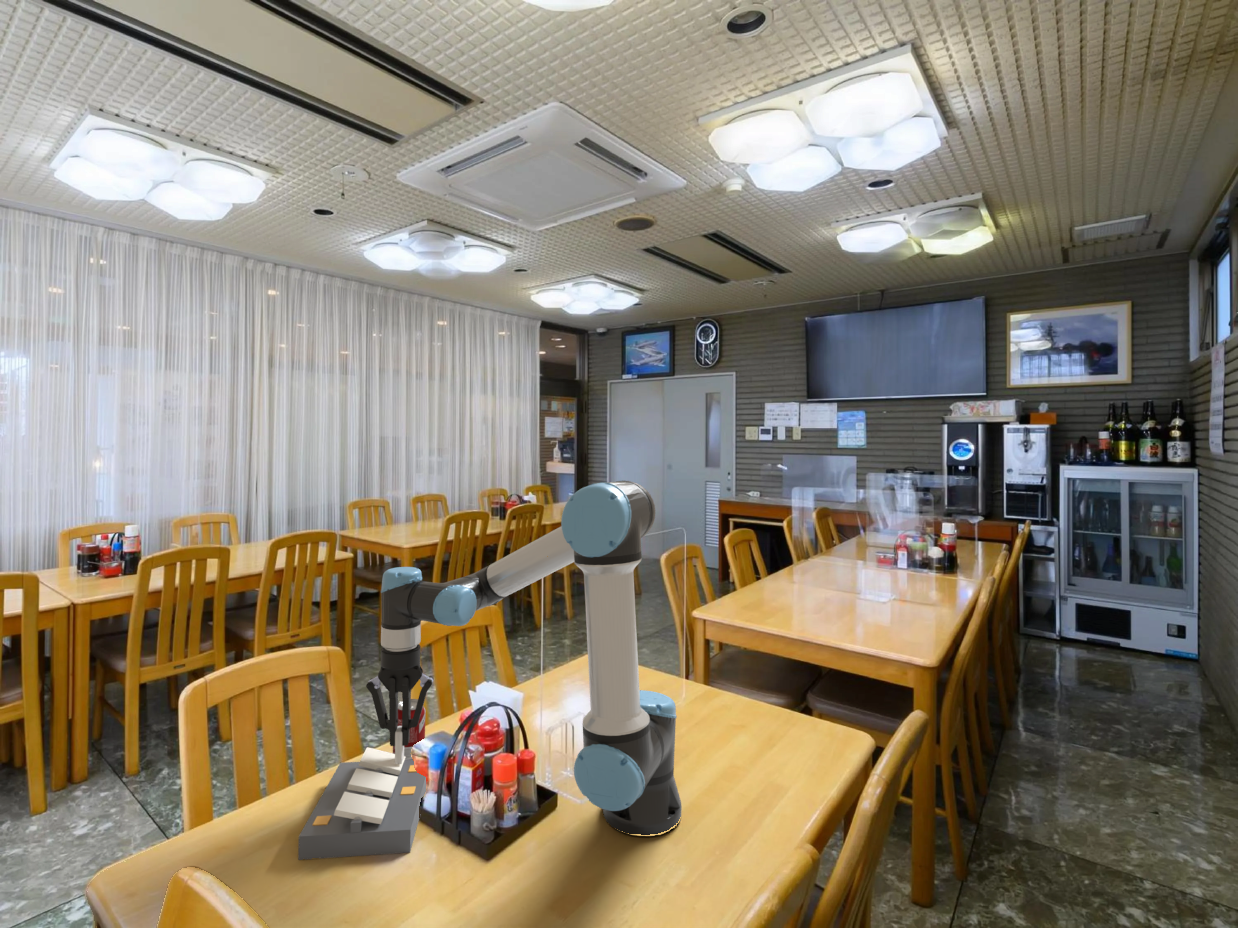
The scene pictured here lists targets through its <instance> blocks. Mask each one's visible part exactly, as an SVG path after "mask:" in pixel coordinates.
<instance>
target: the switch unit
mask: <svg viewBox="0 0 1238 928" xmlns="http://www.w3.org/2000/svg"><path fill="white" fill-rule="evenodd" d="M359 763H360V761H350V762H349V761H348V762H347V761H346V762H345V761H344V762H340V763H339V765H338V766H337V768H336V770H335V771H334V773H333V775H332V776H331V778H330V780H329V782H328V783H327V786H326V787H325V789H324V791H323V793H322V794H321V796H320V798H319V800H318V802H317V804H316V805H315V807H314V809H313V810H312V812H311V814H310V816H309V817H308V819H307V821H306V823H305V825H304V826H303V829H302V830H301V831H300V833H299V835H298V855H297V858H298V861H301V860H303V859H305V860H313V859H312V858H319V859H330V858H332V859H333V858H344V857H345V858H347V857H361V856H376V855H391V854H404V853H411V850H412V846H413V843H414V839H415V837H416V836H415V835H416V831H417V828H418V824H419V821H420V818H419V806H420V802H421V798H422V797H423V796H424V794H425V792H426V777H425V776H423V775H421V774H419V773H417V771H416V770H415V768H414V761H413V759H409V760H404V763H403V766H402V769H401V771H400V774H399V775H395V774H391V773H387V772H383V770H379V771H376V770H374V769H370V768H366V767H362V766H359ZM356 768H358V769H363V770H368V771H373V772H378V773H383V774H387V775H392V776H397V777H398V779H397V782H396V785H395V788H394V790H393V793H392V796H391V798H389V797H384V796H379V795H374V794H373V793H369V794H365V793H364V792H359V791H354V790H349V789H347V787H348V784H349V782H350V780H351V778H352V776H353V774H354V772H355V770H356ZM344 792H349V793H354V794H359V795H365V796H370V797H375V798H380V799H385V800H389V803H388V807H387V809H386V812H385V815H384V817H383V820H382V823H381V824H376V823H371V822H366V821H362V820H354V819H350V818H345V817H340V816H335V815H334V813H335V810H336V808H337V806H338V804H339V802H340V800H341V798H342V796H343V794H344ZM426 793H427V792H426ZM303 861H304V860H303Z"/></svg>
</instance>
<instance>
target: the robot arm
mask: <svg viewBox="0 0 1238 928" xmlns="http://www.w3.org/2000/svg"><path fill="white" fill-rule="evenodd" d="M655 518H656V505H655V502H654V499H653V497H652V495H651V494H650V491H648V490H647V489H646V488H645V487H644V486H642V485H641V484H640V483H637V482H634V481H631V480H617V481H610V482H602V481H601V482H597V483H591V484H588V485H587V486H583V487H582V488H579V490H577V491H576V492H574V493H573V494H572V495H571V496H570V498H568V500H567V502H566V503H565V505H564V508H563V510H562V514H561V518H560V519H561V521H560V524H561V525H560V526H559V527H557V528H556V529H553V530H552V531H550V532H548V533H546V534H544V535H542V536H540V537H538V538H537V539H535V540H533V541H532V542H530V543H528V544H526V545H524V546H522V547H520V548H519V549H517V550H515V551H513V552H511V553H510V554H507V555H506V556H504V557H502V558H500V559H498V560H496V561H494V562H493V563H490V565H488V566H485V567H483V568H481V569H480V570H478V571H476V572H473V573H471V574H469V575H466V576H463V577H459V578H456V579H452V580H449V581H446V582H433V581H432V582H431V581H426V580H423V575H422V574H423V573H422V571H421V569H419V568H418V567H413V566H401V567H400V566H399V567H392V568H389V569H387V570H385V571H384V572H383V574H382V579H381V580H382V581H381V589H380V594H381V596H380V597H381V599H380V600H381V624H380V628H381V629H380V645H381V649H380V670H379V671H378V674H377V675H376V676H375V677H372V678H370V679H369V680H368V681H367V683H366V685H365V687H366V688H367V690H368V692H369V693H370V694H371V697H372V698H371V699H372V701H373V705H374V709H375V711H376V712H375V713H376V716H377V720H378V724H379V728H380V729H382V730H384V729H387V730H388V731H389V746H390V747H393V746H395V764H402V761H403V759H404V746H405V745H408V743H409V740H410V728H412V727H416V726H417V725H418V722H419V719H420V716H421V712H422V708H423V707H424V706H425V705H424V704H425V701H426V697H427V694H428V691H429V690H430V688H431V687H432V685H433V683H434V679H435V678H434V676H431V675H430V676H428V675H426V674H425V673H424V671H423V668H422V665H421V651H422V650H421V649H422V648H421V645H420V643H421V640H422V639H421V638H422V636H421V633H422V624H421V623H422V621H423V622H428V623H434V624H440V625H443V626H447V627H450V626H451V627H453V626H454V627H455V626H456V627H463V626H466V625H467V624H468V623H470V620H472V618H473V617H474V616H475V613H476V611H479V610H482V609H484V608H486V607H490V606H493V605H495V604H497V603H499V602H500V601H502V600H503V599H505V598H506V597H508V596H509V595H512V594H514V593H516V592H517V591H520V590H522V589H524V588H525V587H527V586H530V585H531V584H533V583H536V582H537V581H539V580H541V579H543V578H545V577H548V576H549V575H551V574H553V573H554V572H557V571H559V570H561V569H563V568H565V567H567V566H569V565H571V564H573V563H574V565H575V566H576V567H577V568H579V569H580V570H581V571H582V573H583V582H584V601H585V620H586V621H585V622H586V624H585V625H586V640H587V641H586V642H587V643H586V645H587V663H588V682H589V701H590V703H589V705H590V710H589V711H588V712H587V713H586V715H584V717H583V719H582V741H583V748H582V749H581V750H580V751H579V752H578V754H577V756H576V759H575V761H574V765H573V776H574V779H575V783H576V786H577V787H578V790H579V792H580V793H581V794H582V795H583V796H584V797H586V798H587V799H588V801H589V802H590V803H591V804H592V805H594V806H595V807H597V808H599V809H602V813H603V814H604V815H603V814H602V815H603V818H604V817H605V818H604V820H605V819H606V820H605V821H606V823H607V822H608V823H609V824H610V825H611V826H610V825H609V824H608V823H607V824H608V825H609V826H610V827H611V828H613V827H614V828H616V829H618V830H620V831H623V832H625V833H629V834H641V835H650V834H658V833H661V832H664V831H667V830H669V829H670V828H671V827H673V826H674V825H676V823H678V821H679V819H680V817H681V818H682V801H681V797H680V793H679V790H678V786H677V782H676V778H675V777H674V776H675V775H674V772H675V771H674V770H675V767H674V766H675V751H676V750H675V747H676V746H675V744H676V719H677V709H676V703H675V701H674V700H673V698H671V697H670V696H668V695H666V694H663V693H660V692H657V691H651V690H645V689H644V690H642V689H641V690H640V676H639V675H640V674H639V672H640V671H639V658H638V657H639V655H638V654H639V653H638V637H637V636H638V635H637V617H636V597H635V596H636V595H635V593H636V592H635V577H634V576H635V574H634V570H635V568H636V567H637V566H638V565H639V564H640V563H641V561H642V559H643V558H642V554H643V553H642V538H643V537H645V536H646V535H647V534H648V533H649V532H650V530H651V529H652V527H653V525H654V523H655ZM547 556H548V557H547ZM419 681H420V684H419V685H420V687H421V689H420V692H419V696H418V698H417V699H418V702H417V706H416V709H415V713H414V716H413V719H410V713H411V699H412V698H411V697H412V690H413V689H414V687H415V686H416V684H417V683H418V682H419ZM381 684H382V685H383V686H384V688H385V689H386V690H387V692H388V699H389V701H388V703H389V704H388V705H389V706H388V707H389V709H388V710H389V715H388V711H387V708H386V704H385V699H384V695H383V693H382V688H381ZM399 693H401V698H402V700H401V701H402V726H398V722H399V721H398V703H399ZM614 828H613V829H614ZM616 829H615V830H616ZM618 830H617V831H618ZM620 831H619V832H620Z"/></svg>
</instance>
